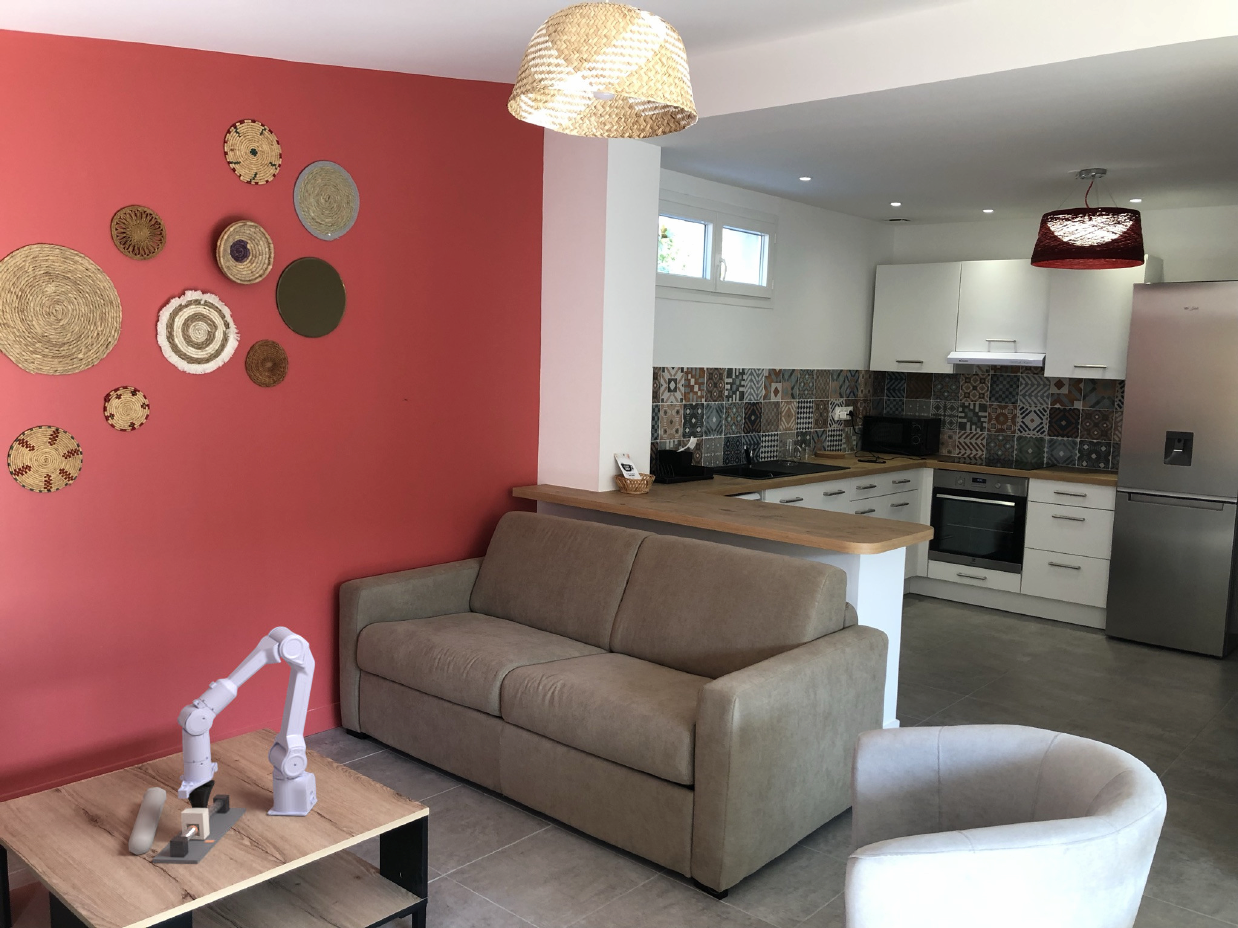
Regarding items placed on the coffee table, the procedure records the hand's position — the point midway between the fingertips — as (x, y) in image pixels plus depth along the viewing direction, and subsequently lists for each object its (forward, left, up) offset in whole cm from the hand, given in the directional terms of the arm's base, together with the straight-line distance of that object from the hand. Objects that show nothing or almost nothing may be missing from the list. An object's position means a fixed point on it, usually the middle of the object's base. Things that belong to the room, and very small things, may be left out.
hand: (200, 814), depth 222 cm
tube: (+14, -2, -6) cm, 15 cm away
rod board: (0, 0, -5) cm, 5 cm away
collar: (0, +2, -4) cm, 5 cm away
